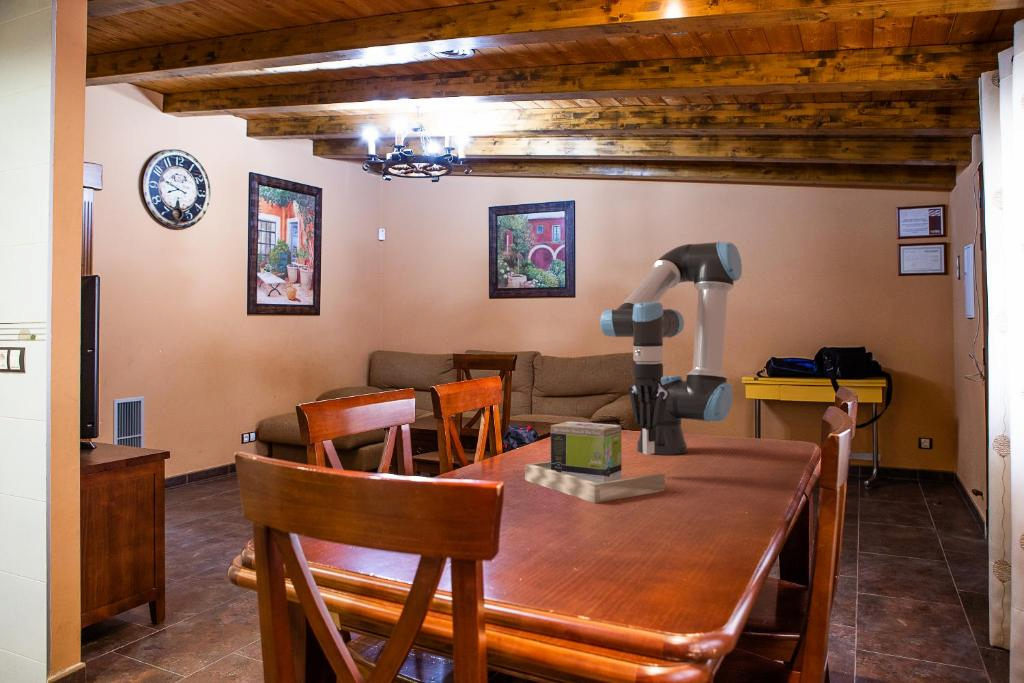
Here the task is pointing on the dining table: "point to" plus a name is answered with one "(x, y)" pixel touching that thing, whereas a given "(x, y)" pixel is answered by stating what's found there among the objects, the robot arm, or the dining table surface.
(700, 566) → the dining table surface
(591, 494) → the corral
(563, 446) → the tea box
